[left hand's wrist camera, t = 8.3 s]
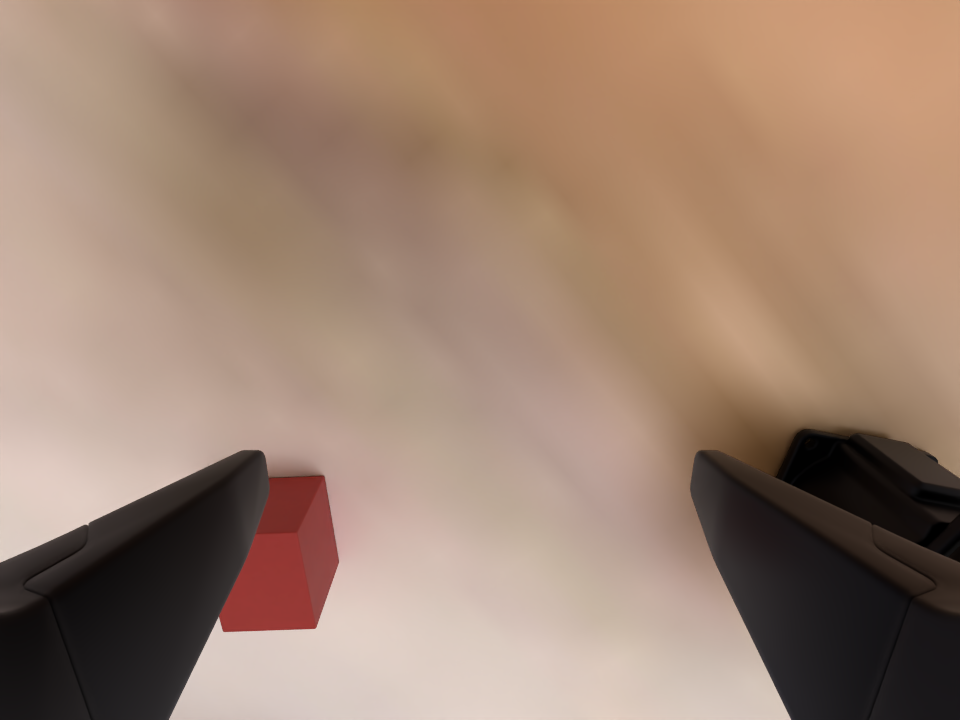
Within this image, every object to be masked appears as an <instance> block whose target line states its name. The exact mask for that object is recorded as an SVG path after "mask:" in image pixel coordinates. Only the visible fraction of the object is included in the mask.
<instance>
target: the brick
mask: <svg viewBox="0 0 960 720" xmlns="http://www.w3.org/2000/svg"><path fill="white" fill-rule="evenodd" d="M269 485H270V490H269V496H268V499H267V502H266V505H265V508H264V511H263V514H262V517H261V519H260V522H259V525H258V528H257V531H256V534H255V537H254V540H253V543H252V545H251V548H250V551H249V553H248V556H247V559H246V561H245V563H244V565H243V567H242V570H241V572H240V574H239V576H238V578H237V580H236V582H235V584H234V586H233V588H232V590H231V592H230V594H229V596H228V598H227V600H226V603H225V605H224V607H223V609H222V611H221V613H220V615H219V618H220V622H221V626H222V629H223V632H237V631H265V630H294V629H315V628H316V627H317V624H318V621H319V618H320V615H321V612H322V610H323V607H324V604H325V601H326V598H327V595H328V592H329V589H330V587H331V584H332V581H333V578H334V575H335V572H336V569H337V566H338V563H339V560H338V554H337V548H336V543H335V537H334V531H333V525H332V519H331V513H330V507H329V502H328V496H327V490H326V484H325V478H324V476H314V477H289V478H269Z"/></svg>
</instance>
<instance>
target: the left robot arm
mask: <svg viewBox="0 0 960 720" xmlns="http://www.w3.org/2000/svg"><path fill="white" fill-rule="evenodd" d="M808 439H811V441H810V442H809V443H807V444H805V442H806V441H807V440H808ZM269 490H270V485H269V478H268V472H267V465H266V459H265V455H264V453H263V452H262V451H259V450H243V451H240V452H238V453H236V454H233V455H231V456H229V457H227V458H225V459H223V460H221V461H219V462H217V463H214V464H212V465H210V466H208V467H206V468H204V469H202V470H200V471H198V472H195V473H193V474H191V475H189V476H187V477H185V478H183V479H181V480H179V481H176V482H174V483H172V484H170V485H168V486H166V487H164V488H162V489H160V490H157V491H155V492H153V493H151V494H149V495H147V496H145V497H143V498H141V499H138V500H136V501H134V502H132V503H130V504H128V505H126V506H124V507H122V508H119V509H117V510H115V511H113V512H111V513H109V514H107V515H105V516H103V517H100V518H98V519H96V520H94V521H92V522H90V523H89V525H83V526H81V527H79V528H77V529H75V530H73V531H71V532H69V533H66V534H64V535H62V536H60V537H58V538H56V539H53V540H51V541H49V542H47V543H45V544H42V545H40V546H38V547H36V548H33V549H31V550H29V551H26V552H24V553H22V554H19V555H17V556H15V557H12V558H10V559H8V560H6V561H3V562H1V563H0V720H169V718H170V716H171V714H172V712H173V710H174V708H175V706H176V704H177V701H178V699H179V697H180V695H181V693H182V691H183V689H184V687H185V685H186V683H187V681H188V679H189V677H190V675H191V673H192V671H193V668H194V666H195V664H196V662H197V660H198V658H199V656H200V654H201V652H202V650H203V648H204V646H205V644H206V642H207V640H208V638H209V636H210V633H211V631H212V629H213V627H214V625H215V623H216V621H217V619H218V617H219V615H220V613H221V611H222V609H223V607H224V605H225V603H226V600H227V598H228V596H229V594H230V592H231V590H232V588H233V586H234V584H235V582H236V580H237V578H238V576H239V574H240V572H241V570H242V567H243V565H244V563H245V561H246V559H247V556H248V553H249V551H250V548H251V545H252V543H253V540H254V537H255V534H256V531H257V528H258V525H259V522H260V519H261V517H262V514H263V511H264V508H265V505H266V502H267V499H268V496H269ZM690 490H691V496H692V499H693V502H694V505H695V508H696V511H697V514H698V517H699V519H700V522H701V525H702V528H703V531H704V534H705V537H706V540H707V543H708V545H709V548H710V551H711V554H712V556H713V559H714V561H715V563H716V565H717V567H718V570H719V572H720V574H721V576H722V578H723V580H724V582H725V584H726V586H727V588H728V590H729V592H730V594H731V596H732V598H733V601H734V603H735V605H736V607H737V609H738V611H739V613H740V615H741V617H742V619H743V621H744V623H745V625H746V627H747V629H748V631H749V633H750V636H751V638H752V640H753V642H754V644H755V646H756V648H757V650H758V652H759V654H760V656H761V658H762V660H763V662H764V664H765V666H766V669H767V671H768V673H769V675H770V677H771V679H772V681H773V683H774V685H775V687H776V689H777V691H778V693H779V695H780V697H781V699H782V702H783V704H784V706H785V708H786V710H787V712H788V714H789V716H790V718H791V720H960V478H958V477H957V476H956V475H954V474H953V473H951V472H950V471H948V470H947V469H945V468H944V467H942V466H941V465H939V464H938V460H937V459H936V458H935V457H934V456H932V455H931V454H929V453H927V452H925V451H920V450H917V449H916V448H915V447H913V446H912V445H910V444H908V443H906V442H901V441H896V440H890V439H885V438H880V437H875V436H870V435H865V434H860V433H856V434H852V435H850V436H849V437H847V436H842V435H837V434H832V433H827V432H821V431H816V430H811V429H805V430H802V431H800V432H799V433H798V434H797V435H796V436H795V438H794V440H793V443H792V445H791V447H790V449H789V451H788V453H787V456H786V458H785V460H784V462H783V464H782V467H781V469H780V471H779V473H778V475H777V477H776V478H775V477H773V476H771V475H769V474H767V473H765V472H762V471H760V470H758V469H756V468H754V467H752V466H750V465H748V464H746V463H743V462H741V461H739V460H737V459H735V458H733V457H731V456H729V455H727V454H724V453H722V452H720V451H717V450H700V451H698V452H697V453H696V455H695V459H694V465H693V472H692V478H691V485H690Z"/></svg>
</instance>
